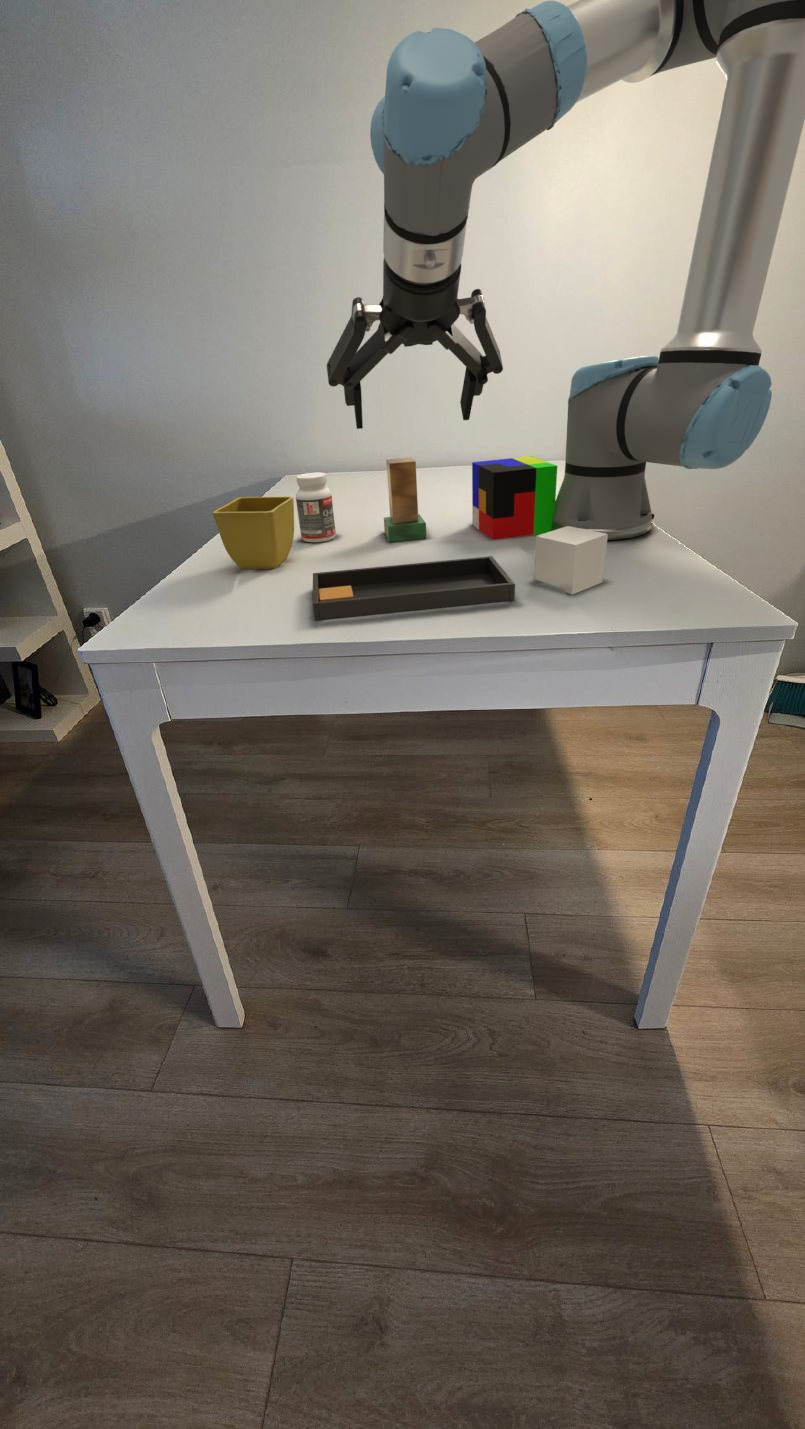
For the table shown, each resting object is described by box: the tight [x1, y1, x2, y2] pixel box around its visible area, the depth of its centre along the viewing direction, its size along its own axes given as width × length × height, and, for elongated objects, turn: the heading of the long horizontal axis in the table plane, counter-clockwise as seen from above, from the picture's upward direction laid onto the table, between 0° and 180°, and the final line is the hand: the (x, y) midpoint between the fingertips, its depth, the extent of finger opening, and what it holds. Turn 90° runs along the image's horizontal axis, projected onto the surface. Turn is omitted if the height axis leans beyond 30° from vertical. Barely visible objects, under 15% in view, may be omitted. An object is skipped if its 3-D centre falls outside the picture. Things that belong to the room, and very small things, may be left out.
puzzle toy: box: [471, 455, 558, 541], centre depth 101 cm, size 10×10×10 cm
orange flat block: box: [319, 586, 354, 602], centre depth 77 cm, size 4×4×1 cm
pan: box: [312, 555, 516, 622], centre depth 78 cm, size 23×11×3 cm, turn 97°
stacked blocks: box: [383, 456, 427, 543], centre depth 101 cm, size 6×6×12 cm
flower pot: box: [212, 496, 295, 570], centre depth 92 cm, size 9×9×9 cm
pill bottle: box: [295, 471, 337, 543], centre depth 103 cm, size 6×6×10 cm
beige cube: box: [533, 526, 608, 596], centre depth 79 cm, size 6×6×6 cm
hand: (411, 415), depth 82 cm, fingers open, 13 cm apart
